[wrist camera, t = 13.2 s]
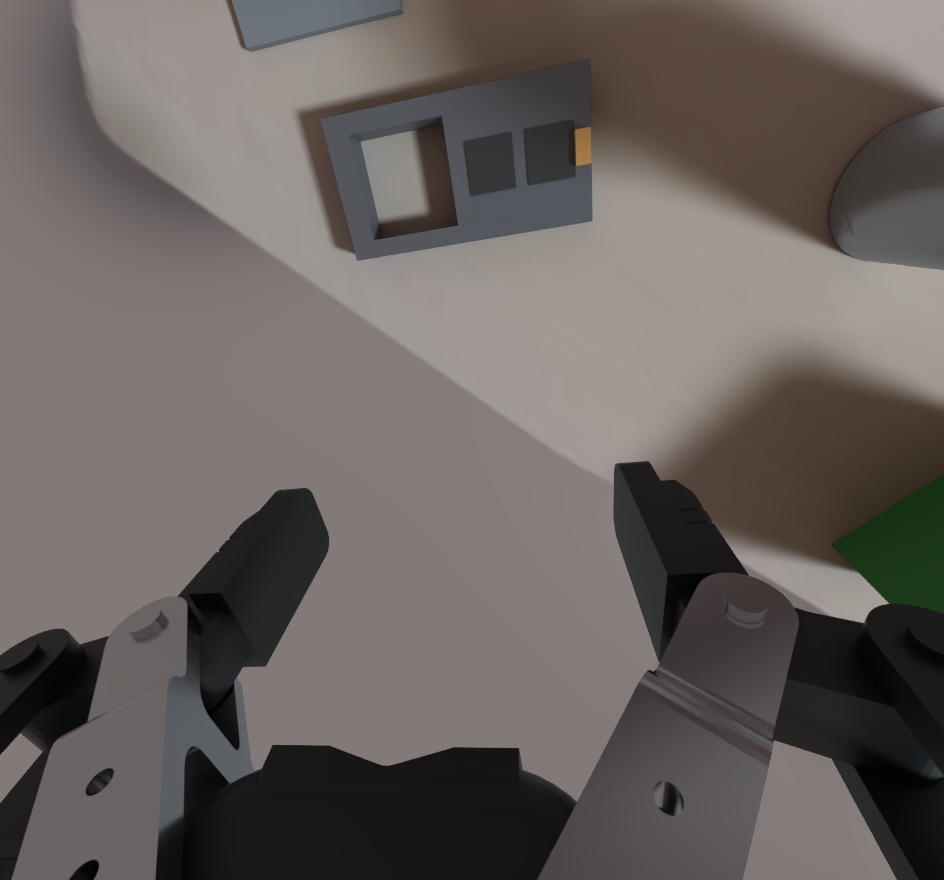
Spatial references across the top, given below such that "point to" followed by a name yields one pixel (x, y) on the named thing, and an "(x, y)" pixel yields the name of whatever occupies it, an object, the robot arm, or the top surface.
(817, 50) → the top surface
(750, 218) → the top surface
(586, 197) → the gray slotted block
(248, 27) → the charging mat
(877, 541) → the green box
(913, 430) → the top surface
